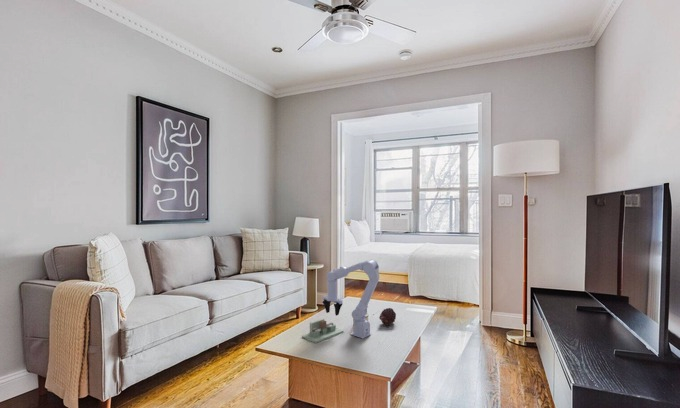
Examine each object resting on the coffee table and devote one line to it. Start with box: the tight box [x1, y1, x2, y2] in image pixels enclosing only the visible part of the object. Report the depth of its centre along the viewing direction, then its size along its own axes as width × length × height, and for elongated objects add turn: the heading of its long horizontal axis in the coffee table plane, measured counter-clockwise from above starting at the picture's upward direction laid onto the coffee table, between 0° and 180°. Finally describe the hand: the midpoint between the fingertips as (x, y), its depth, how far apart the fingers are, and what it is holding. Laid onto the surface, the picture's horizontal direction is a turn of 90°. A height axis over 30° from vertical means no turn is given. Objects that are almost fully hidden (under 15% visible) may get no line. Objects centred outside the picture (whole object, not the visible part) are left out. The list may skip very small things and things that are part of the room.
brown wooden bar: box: [312, 319, 334, 332], centre depth 205 cm, size 4×16×4 cm, turn 137°
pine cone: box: [379, 307, 397, 326], centre depth 224 cm, size 18×10×10 cm, turn 153°
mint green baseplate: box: [301, 318, 344, 344], centre depth 205 cm, size 12×22×7 cm, turn 137°
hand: (332, 313), depth 213 cm, fingers open, 7 cm apart
